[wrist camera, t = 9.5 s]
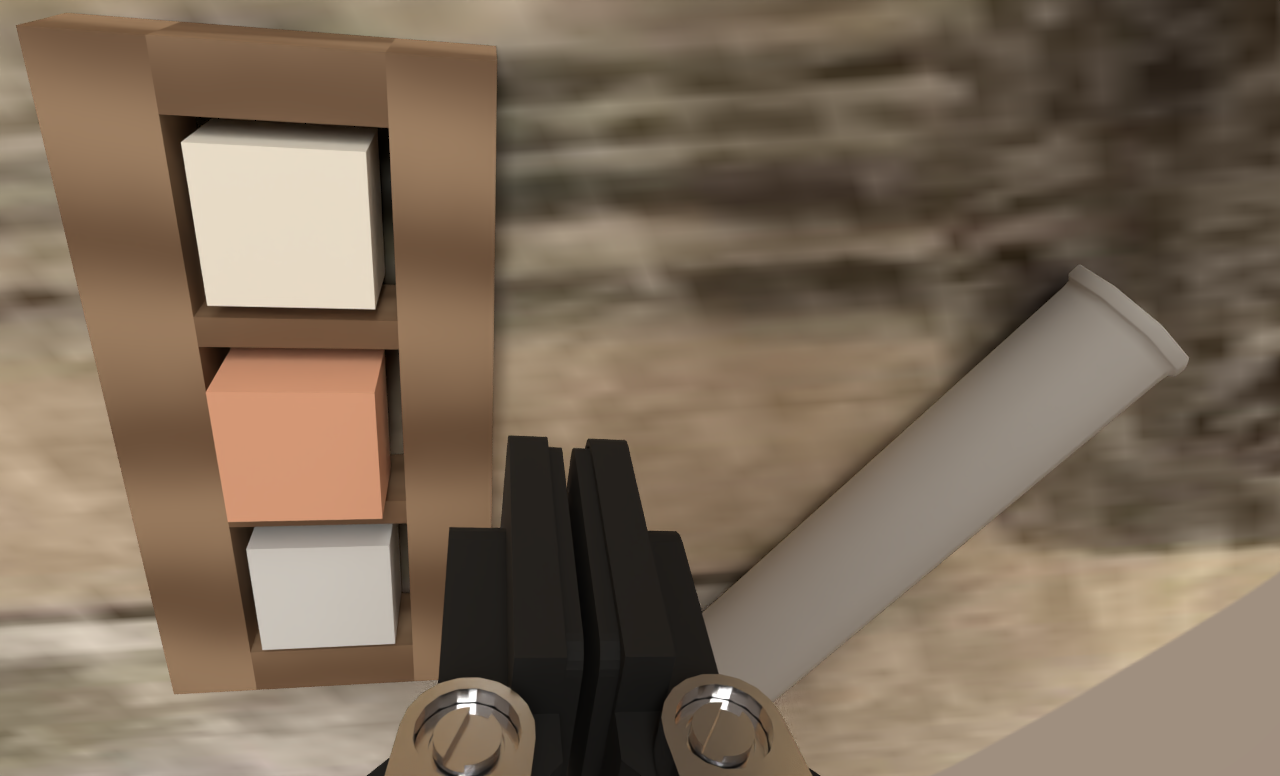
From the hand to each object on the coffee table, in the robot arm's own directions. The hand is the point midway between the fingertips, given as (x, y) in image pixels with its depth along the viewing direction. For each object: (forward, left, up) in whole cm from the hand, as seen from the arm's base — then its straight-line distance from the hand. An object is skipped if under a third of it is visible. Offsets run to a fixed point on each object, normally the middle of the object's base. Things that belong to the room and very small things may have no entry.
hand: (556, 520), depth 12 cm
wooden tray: (+8, -7, -19) cm, 21 cm away
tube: (+14, +16, -19) cm, 28 cm away
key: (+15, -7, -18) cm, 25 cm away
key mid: (+8, -7, -17) cm, 20 cm away
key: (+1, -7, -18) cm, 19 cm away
